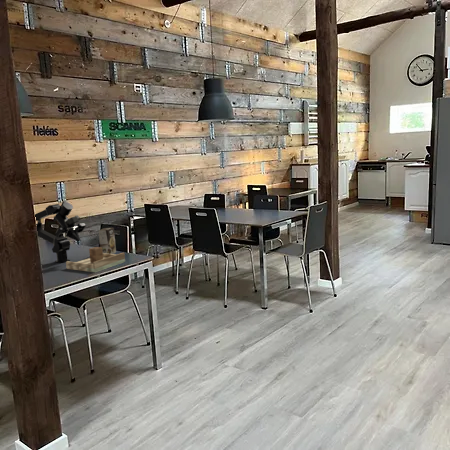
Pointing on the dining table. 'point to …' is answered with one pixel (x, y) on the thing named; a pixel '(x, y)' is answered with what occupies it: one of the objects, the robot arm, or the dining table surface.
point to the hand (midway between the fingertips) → (79, 240)
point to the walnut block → (95, 254)
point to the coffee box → (107, 240)
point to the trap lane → (97, 263)
